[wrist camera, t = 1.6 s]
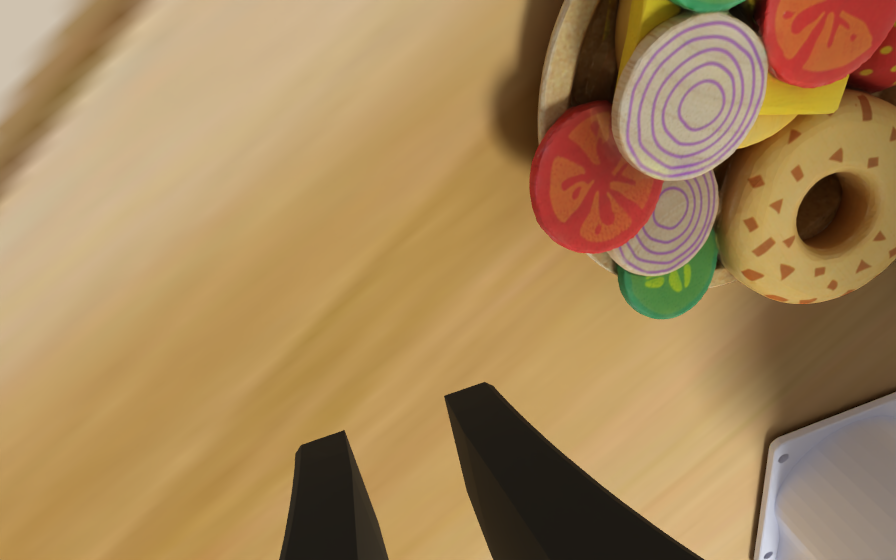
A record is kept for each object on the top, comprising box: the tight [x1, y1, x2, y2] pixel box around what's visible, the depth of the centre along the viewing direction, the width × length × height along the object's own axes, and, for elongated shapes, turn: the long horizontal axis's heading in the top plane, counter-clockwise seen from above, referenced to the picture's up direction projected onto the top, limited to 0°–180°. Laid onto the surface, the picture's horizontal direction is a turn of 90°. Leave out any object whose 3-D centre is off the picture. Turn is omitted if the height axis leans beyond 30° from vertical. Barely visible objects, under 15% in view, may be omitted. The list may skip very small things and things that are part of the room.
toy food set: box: [530, 0, 896, 319], centre depth 18 cm, size 13×13×3 cm
